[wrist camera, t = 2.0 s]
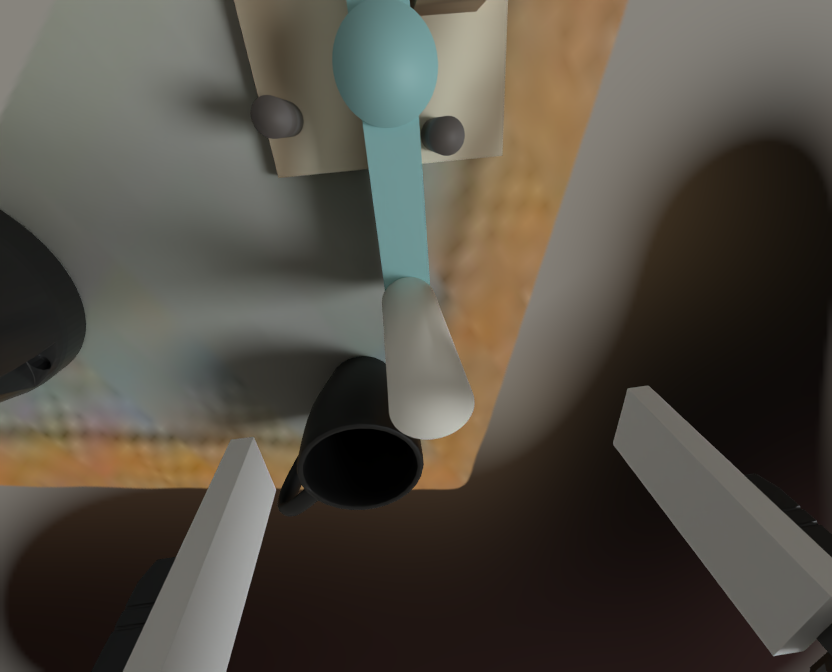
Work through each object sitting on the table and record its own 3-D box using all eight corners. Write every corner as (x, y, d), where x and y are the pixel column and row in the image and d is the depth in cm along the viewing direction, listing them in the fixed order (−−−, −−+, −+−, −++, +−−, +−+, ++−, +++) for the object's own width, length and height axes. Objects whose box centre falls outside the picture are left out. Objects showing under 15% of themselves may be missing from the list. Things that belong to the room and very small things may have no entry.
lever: (374, 311, 26) (377, 446, 15) (305, -136, 15) (138, -803, 4) (440, 303, 26) (490, 431, 15) (417, -142, 16) (530, -790, 5)
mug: (263, 402, 32) (226, 498, 24) (369, 324, 29) (368, 402, 21) (329, 450, 35) (317, 548, 27) (428, 385, 33) (448, 471, 25)
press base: (282, 175, 23) (261, 187, 19) (221, -71, 18) (172, -135, 13) (497, 154, 24) (525, 160, 20) (504, -89, 18) (545, -156, 14)
